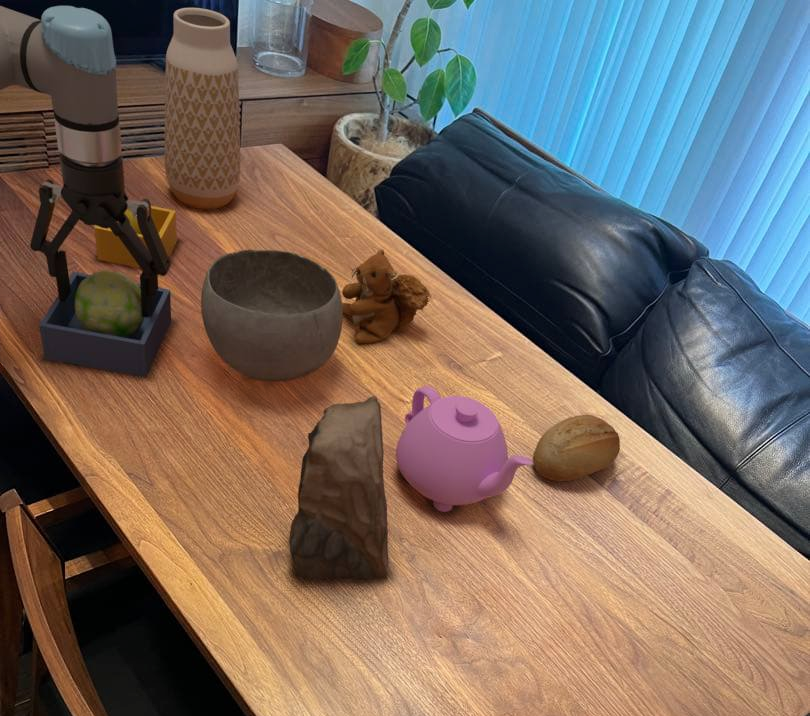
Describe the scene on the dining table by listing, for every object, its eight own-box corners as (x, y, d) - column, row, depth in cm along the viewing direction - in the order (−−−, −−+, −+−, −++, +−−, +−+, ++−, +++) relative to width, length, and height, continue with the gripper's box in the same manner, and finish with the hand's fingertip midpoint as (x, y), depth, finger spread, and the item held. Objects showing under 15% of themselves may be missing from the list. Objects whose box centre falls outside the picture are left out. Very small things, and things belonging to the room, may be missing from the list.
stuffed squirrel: (331, 310, 138) (341, 238, 128) (408, 308, 142) (423, 239, 133) (347, 345, 132) (358, 273, 122) (426, 342, 137) (443, 272, 127)
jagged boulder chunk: (286, 583, 98) (299, 464, 83) (279, 507, 106) (290, 386, 91) (387, 580, 101) (417, 465, 86) (373, 507, 109) (398, 390, 94)
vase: (150, 190, 153) (140, 6, 131) (207, 174, 161) (206, -2, 139) (198, 222, 149) (196, 37, 126) (254, 203, 157) (261, 27, 134)
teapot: (539, 514, 114) (572, 442, 104) (460, 558, 106) (487, 484, 95) (439, 422, 123) (460, 348, 113) (359, 456, 115) (374, 379, 105)
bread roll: (627, 471, 124) (648, 432, 118) (557, 500, 116) (576, 460, 110) (585, 432, 128) (603, 393, 122) (516, 458, 121) (532, 418, 115)
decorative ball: (156, 347, 122) (159, 291, 115) (93, 361, 116) (92, 303, 109) (125, 308, 126) (127, 251, 118) (62, 320, 120) (59, 261, 113)
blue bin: (44, 359, 116) (38, 325, 112) (77, 304, 126) (73, 271, 122) (146, 377, 118) (144, 344, 113) (171, 321, 128) (170, 289, 123)
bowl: (362, 372, 128) (376, 289, 117) (268, 426, 116) (274, 339, 104) (270, 311, 134) (276, 227, 123) (173, 355, 122) (169, 266, 111)
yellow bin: (97, 260, 135) (94, 227, 131) (116, 229, 142) (113, 197, 138) (161, 272, 136) (160, 240, 132) (176, 241, 143) (175, 210, 139)
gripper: (191, 160, 105) (193, 305, 121) (6, 121, 103) (33, 275, 119) (177, 186, 100) (181, 334, 116) (-18, 146, 98) (14, 302, 114)
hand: (106, 304), depth 117 cm, fingers open, 11 cm apart
